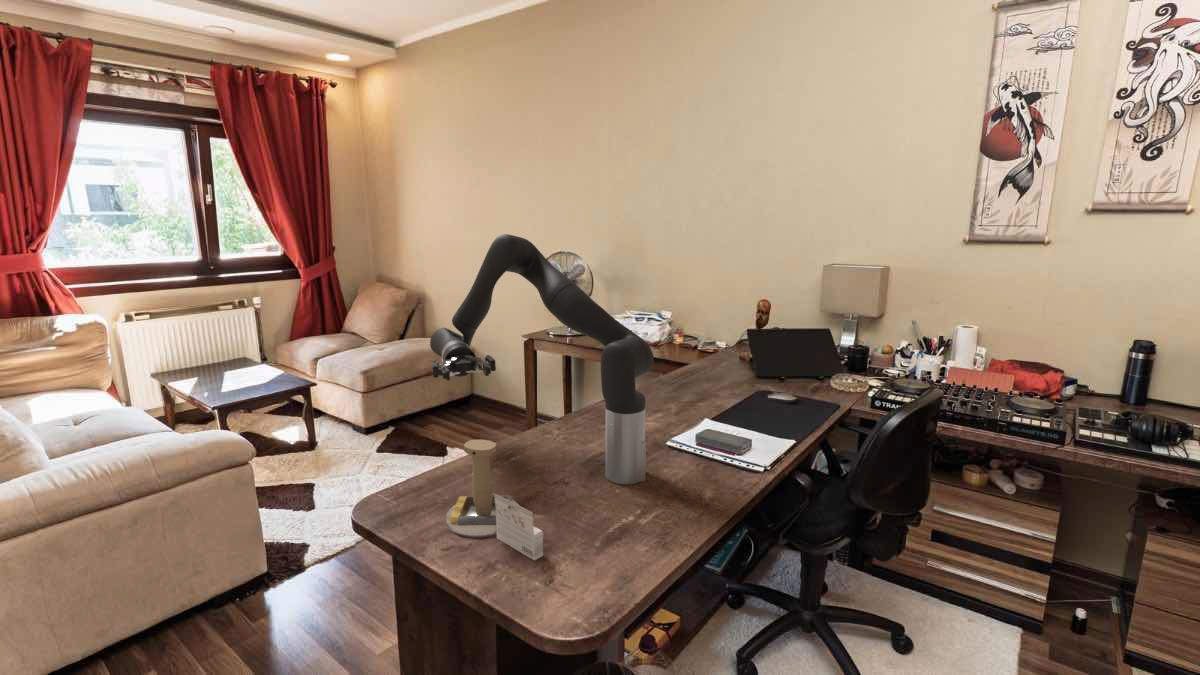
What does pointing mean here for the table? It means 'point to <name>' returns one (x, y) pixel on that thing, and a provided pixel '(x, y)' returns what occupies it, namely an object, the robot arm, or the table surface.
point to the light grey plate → (473, 518)
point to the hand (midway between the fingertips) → (468, 373)
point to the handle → (481, 473)
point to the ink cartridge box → (518, 528)
